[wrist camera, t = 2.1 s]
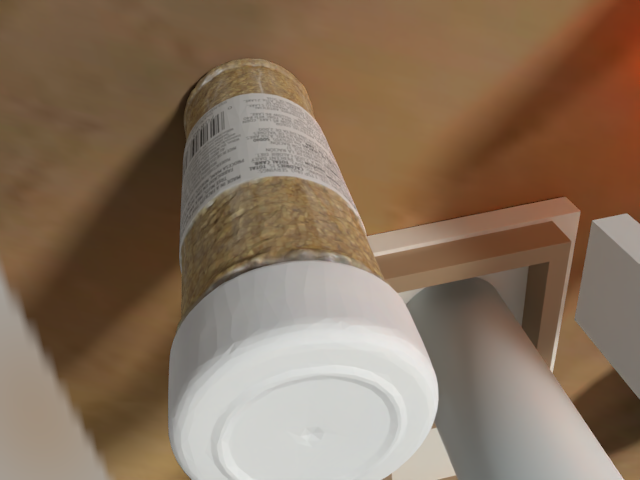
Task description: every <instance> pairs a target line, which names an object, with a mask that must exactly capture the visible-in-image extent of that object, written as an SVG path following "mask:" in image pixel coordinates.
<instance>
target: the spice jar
mask: <svg viewBox="0 0 640 480" xmlns="http://www.w3.org/2000/svg"><path fill="white" fill-rule="evenodd" d="M184 128H185V136H186V140H187V142H186V146H185V150H184V157H183V178H182V199H181V221H180V248H179V259H180V269H181V273H182V303H181V320H180V322H179V324H178V327H177V331H176V336H175V338H174V340H173V344H172V348H171V352H170V362H169V388H168V428H169V439H170V443H171V448H172V450H173V453H174V455H175V458H176V460H177V462H178V463H179V465H180V466H181V468H182V469H183V471H184V472H185V473H186V474H187V475H188V476H189V477H190V478H191V479H192V480H382V479H384V478H385V477H387V476H389V475H390V474H391V473H393V472H394V471H395V470H397V469H398V468H399V467H400V466H401V465H403V464H404V463H405V462H406V461H407V460H408V459H409V458H410V457H411V456H412V455H413V454H414V453H415V452H416V451H417V449H418V448H419V447H420V446H421V444H422V443H423V441H424V440H425V438H426V437H427V435H428V433H429V432H430V430H431V428H432V425H433V422H434V419H435V416H436V413H437V408H438V401H439V397H438V382H437V378H436V374H435V371H434V369H433V366H432V363H431V360H430V358H429V355H428V353H427V351H426V348H425V346H424V343H423V341H422V339H421V337H420V334H419V332H418V330H417V328H416V326H415V323H414V321H413V319H412V317H411V314H410V312H409V310H408V308H407V306H406V305H405V303H404V301H403V299H402V298H401V297H400V296H399V294H398V293H397V292H396V291H395V290H394V289H393V288H392V287H391V285H390V284H389V283H388V282H387V281H386V280H385V279H384V277H383V275H382V273H381V271H380V268H379V265H378V263H377V261H376V259H375V256H374V254H373V252H372V249H371V247H370V245H369V242H368V239H367V236H366V231H365V227H364V225H363V223H362V220H361V218H360V215H359V213H358V211H357V209H356V206H355V204H354V202H353V200H352V197H351V195H350V193H349V190H348V188H347V186H346V184H345V181H344V179H343V177H342V174H341V172H340V169H339V167H338V165H337V162H336V160H335V158H334V156H333V154H332V151H331V149H330V147H329V145H328V142H327V140H326V138H325V136H324V134H323V132H322V130H321V128H320V126H319V125H318V123H317V122H316V120H315V118H314V112H313V108H312V104H311V102H310V100H309V97H308V94H307V92H306V89H305V88H304V86H303V85H302V84H301V83H300V82H299V81H298V80H297V79H296V78H295V77H294V75H293V74H291V73H290V72H289V71H287V70H285V69H284V68H283V67H281V66H280V65H277V64H275V63H272V62H269V61H266V60H263V59H249V58H246V59H240V60H233V61H229V62H227V63H225V64H222V65H219V66H217V67H215V68H214V69H212V70H210V71H209V72H208V73H207V74H206V75H205V76H204V77H203V78H202V79H200V81H199V82H198V83H197V85H196V87H195V88H194V89H193V90H192V92H191V93H190V95H189V98H188V100H187V105H186V108H185V113H184Z"/></svg>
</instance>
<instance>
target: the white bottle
mask: <svg viewBox="0 0 640 480" xmlns="http://www.w3.org/2000/svg"><path fill="white" fill-rule="evenodd" d="M406 306H407V308H408V310H409V312H410V314H411V317H412V319H413V321H414V323H415V326H416V328H417V330H418V332H419V334H420V337H421V339H422V341H423V343H424V346H425V348H426V351H427V353H428V355H429V358H430V360H431V363H432V366H433V369H434V371H435V374H436V378H437V382H438V397H439V401H438V408H437V413H436V416H435V419H434V423H435V425H436V427H437V430H438V432H439V435H440V437H441V440H442V442H443V444H444V447H445V449H446V452H447V454H448V457H449V459H450V462H451V464H452V466H453V469H454V471H455V474H456V476H457V479H458V480H624V479H623V478H622V476H621V475H620V473H619V472H618V470H617V469H616V467H615V466H614V464H613V463H612V461H611V460H610V458H609V457H608V455H607V454H606V452H605V451H604V449H603V448H602V446H601V445H600V443H599V442H598V440H597V439H596V437H595V436H594V434H593V433H592V431H591V430H590V428H589V427H588V425H587V424H586V423H585V421H584V420H583V418H582V417H581V415H580V414H579V412H578V411H577V409H576V408H575V406H574V405H573V403H572V402H571V400H570V399H569V397H568V396H567V394H566V393H565V391H564V390H563V388H562V387H561V385H560V384H559V382H558V381H557V379H556V378H555V376H554V375H553V373H552V372H551V370H550V369H549V367H548V366H547V364H546V363H545V361H544V360H543V358H542V357H541V355H540V354H539V352H538V351H537V349H536V348H535V346H534V345H533V343H532V342H531V340H530V339H529V338H528V336H527V335H526V333H525V332H524V330H523V329H522V327H521V326H520V324H519V323H518V321H517V320H516V318H515V317H514V315H513V314H512V312H511V311H510V309H509V308H508V306H507V305H506V303H505V302H504V300H503V299H502V297H501V296H500V294H499V293H498V291H497V290H496V288H495V287H494V286H493V285H492V284H490V283H489V282H487V281H485V280H483V279H480V278H477V277H473V278H468V279H463V280H458V281H453V282H449V283H444V284H439V285H434V286H429V287H426V288H424V289H423V290H421V291H420V292H418V293H417V294H416V295H415V296H414V297H413V298H412V299H411V300H410V301H409V302H408V304H407V305H406Z"/></svg>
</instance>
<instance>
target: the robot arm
mask: <svg viewBox="0 0 640 480" xmlns="http://www.w3.org/2000/svg"><path fill="white" fill-rule="evenodd" d="M575 321H576V322H577V323H578V324H579V326H580V327H581V328H582V329H583V331H584V332H585V333H586V334H587V335H588V337H589V338H590V339H591V340H592V342H593V343H594V344H595V345H596V347H597V348H598V349H599V350H600V351H601V353H602V354H603V355H604V356H605V358H606V359H607V360H608V361H609V362H610V364H611V365H612V366H613V367H614V369H615V370H616V371H617V372H618V374H619V375H620V376H621V377H622V378H623V380H624V381H625V382H626V383H627V385H628V386H629V387H630V388H631V390H632V391H633V392H634V393H635V394H636V396H637V397H638V398H639V399H640V224H639V223H638V222H637V221H636V220H634V219H633V218H632V217H631V216H630V215H628V214H627V213H626V214H621V215H616V216H612V217H607V218H602V219H597V220H592V224H591V229H590V235H589V241H588V246H587V252H586V258H585V263H584V269H583V275H582V280H581V286H580V292H579V297H578V303H577V309H576V314H575Z"/></svg>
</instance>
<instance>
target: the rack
mask: <svg viewBox="0 0 640 480" xmlns="http://www.w3.org/2000/svg"><path fill="white" fill-rule="evenodd" d="M580 212H581V211H580V210H579V209H578V208H577V207H576V206H575V205H574V204H573V203H572V202H571V201H570V200H569V199H567V198H566V197H561V198H556V199H551V200H546V201H541V202H536V203H531V204H526V205H521V206H516V207H511V208H506V209H501V210H496V211H491V212H486V213H481V214H476V215H471V216H466V217H461V218H456V219H451V220H445V221H440V222H435V223H430V224H425V225H420V226H415V227H410V228H405V229H400V230H395V231H390V232H385V233H380V234H375V235H370V236H367V239H368V242H369V245H370V247H371V249H372V252H373V254H374V256H375V259H376V261H377V263H378V265H379V268H380V271H381V273H382V275H383V277H384V279H385V280H386V281H387V282H388V283H389V284H390V285H391V287H392V288H393V289H394V290H395V291H396V292H397V293H398V294H399V296H400V297H401V298H402V299H403V301H404V303H405V305H407V304H408V302H409V301H410V300H411V299H412V298H413V297H414V296H415V295H416V294H417V293H418V292H420V291H421V290H423V289H424V288H426V287H429V286H434V285H439V284H444V283H449V282H453V281H458V280H463V279H468V278H473V277H477V278H480V279H483V280H485V281H487V282H489V283H490V284H492V285H493V286H494V287H495V288H496V290H497V291H498V293H499V294H500V296H501V297H502V299H503V300H504V302H505V303H506V305H507V306H508V308H509V309H510V311H511V312H512V314H513V315H514V317H515V318H516V320H517V321H518V323H519V324H520V326H521V327H522V329H523V330H524V332H525V333H526V335H527V336H528V338H529V339H530V340H531V342H532V343H533V345H534V346H535V348H536V349H537V351H538V352H539V354H540V355H541V357H542V358H543V360H544V361H545V363H546V364H547V366H548V367H549V369H550V370H551V372H552V373H553V367H554V362H555V356H556V350H557V344H558V339H559V333H560V327H561V321H562V316H563V310H564V304H565V298H566V293H567V287H568V281H569V275H570V269H571V264H572V258H573V252H574V246H575V241H576V235H577V229H578V223H579V218H580ZM382 480H458V479H457V476H456V474H455V471H454V469H453V466H452V464H451V462H450V459H449V457H448V454H447V452H446V449H445V447H444V444H443V442H442V440H441V437H440V435H439V432H438V430H437V427H436V425H435V423H434V422H433V425H432V428H431V430H430V432H429V433H428V435H427V437H426V438H425V440H424V441H423V443H422V444H421V446H420V447H419V448H418V449H417V451H416V452H415V453H414V454H413V455H412V456H411V457H410V458H409V459H408V460H407V461H406V462H405V463H404V464H403V465H401V466H400V467H399V468H398V469H397V470H395V471H394V472H393V473H391V474H390V475H389V476H387V477H385V478H384V479H382Z"/></svg>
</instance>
